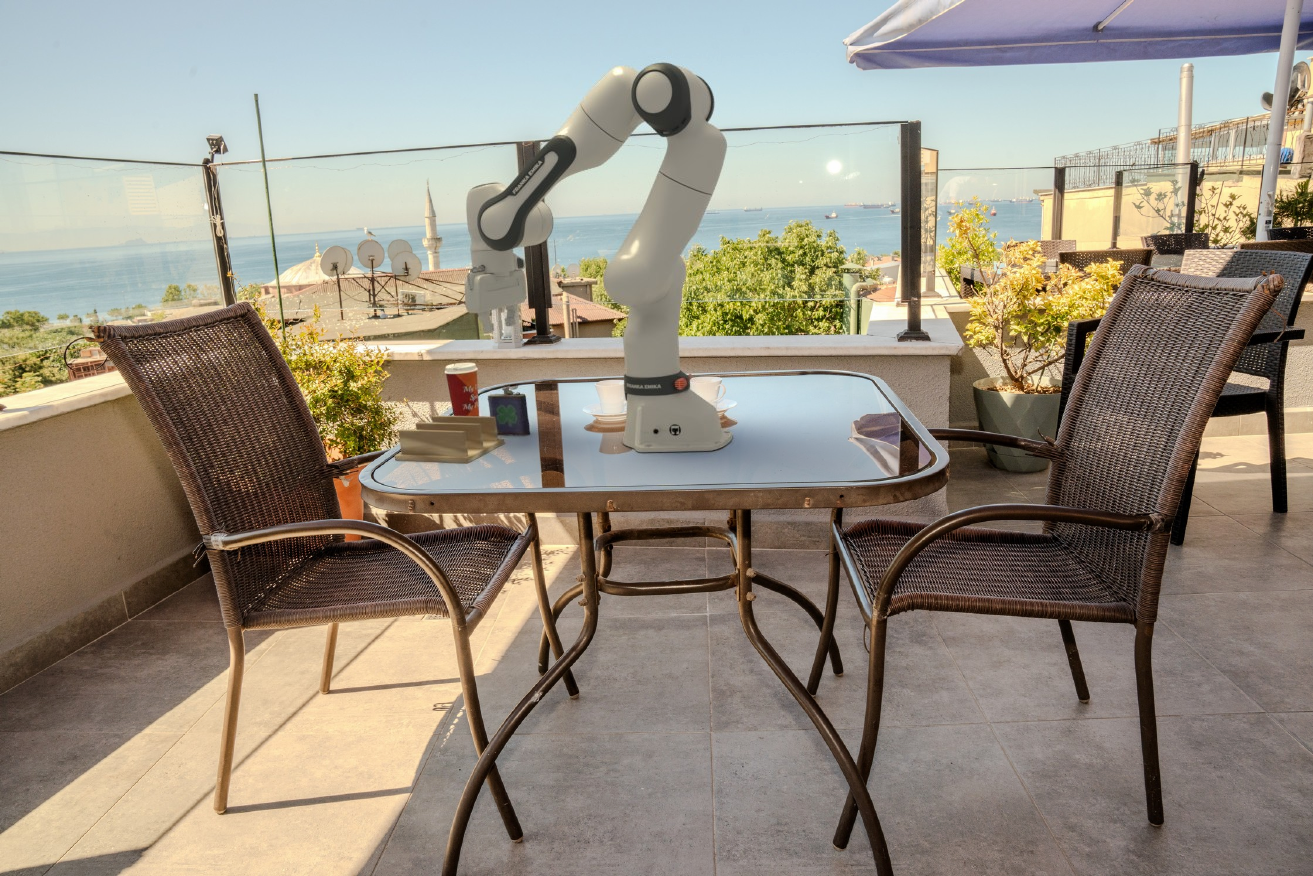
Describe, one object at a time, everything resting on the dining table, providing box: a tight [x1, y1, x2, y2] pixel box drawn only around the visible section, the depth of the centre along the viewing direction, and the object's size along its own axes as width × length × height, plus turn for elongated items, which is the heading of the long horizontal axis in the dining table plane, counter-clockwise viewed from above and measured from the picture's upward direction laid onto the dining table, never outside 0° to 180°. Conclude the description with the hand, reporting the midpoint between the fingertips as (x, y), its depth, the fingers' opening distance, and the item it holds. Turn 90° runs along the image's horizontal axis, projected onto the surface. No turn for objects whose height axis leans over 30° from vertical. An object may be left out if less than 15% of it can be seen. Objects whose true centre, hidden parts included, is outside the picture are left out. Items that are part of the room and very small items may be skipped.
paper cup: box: [444, 362, 480, 416], centre depth 203 cm, size 8×8×14 cm
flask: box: [487, 385, 531, 437], centre depth 191 cm, size 9×3×11 cm, turn 71°
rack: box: [394, 414, 506, 464], centre depth 180 cm, size 15×17×6 cm
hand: (500, 329), depth 186 cm, fingers open, 8 cm apart
